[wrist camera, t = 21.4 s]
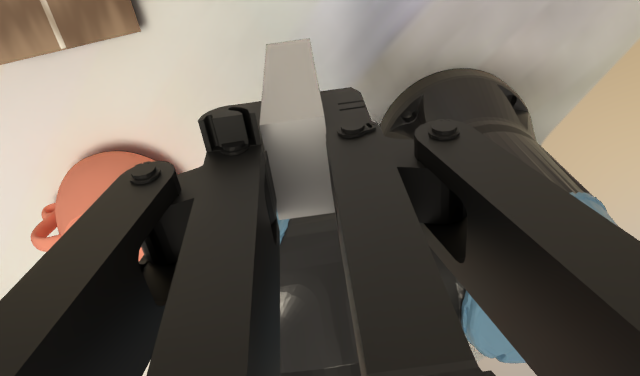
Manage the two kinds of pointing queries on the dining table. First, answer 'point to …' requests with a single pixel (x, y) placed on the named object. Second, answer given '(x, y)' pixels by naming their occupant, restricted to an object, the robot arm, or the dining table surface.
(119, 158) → the sugar bowl
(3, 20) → the domino
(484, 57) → the dining table surface
